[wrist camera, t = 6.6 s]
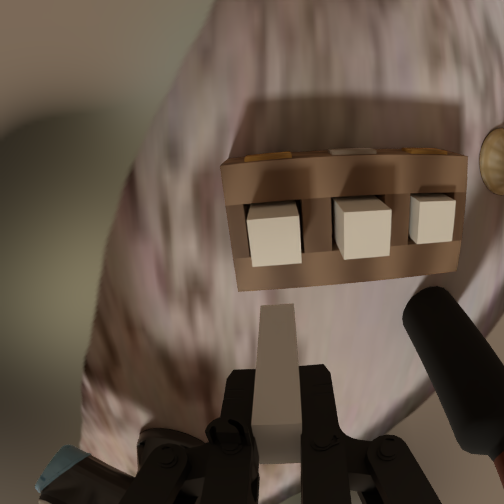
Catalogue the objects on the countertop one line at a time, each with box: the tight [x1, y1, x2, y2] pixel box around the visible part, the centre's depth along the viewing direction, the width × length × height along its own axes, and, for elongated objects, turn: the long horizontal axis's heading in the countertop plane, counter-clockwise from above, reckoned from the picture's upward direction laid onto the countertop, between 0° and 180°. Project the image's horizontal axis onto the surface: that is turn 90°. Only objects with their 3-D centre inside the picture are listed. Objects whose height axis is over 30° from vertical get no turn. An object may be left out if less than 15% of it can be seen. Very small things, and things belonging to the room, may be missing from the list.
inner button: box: [247, 200, 302, 267], centre depth 27 cm, size 4×4×5 cm
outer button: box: [408, 193, 456, 244], centre depth 27 cm, size 4×4×5 cm
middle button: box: [332, 195, 392, 260], centre depth 26 cm, size 4×4×5 cm
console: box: [220, 148, 468, 292], centre depth 29 cm, size 23×12×5 cm, turn 97°
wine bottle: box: [402, 286, 504, 488], centre depth 22 cm, size 8×8×30 cm
